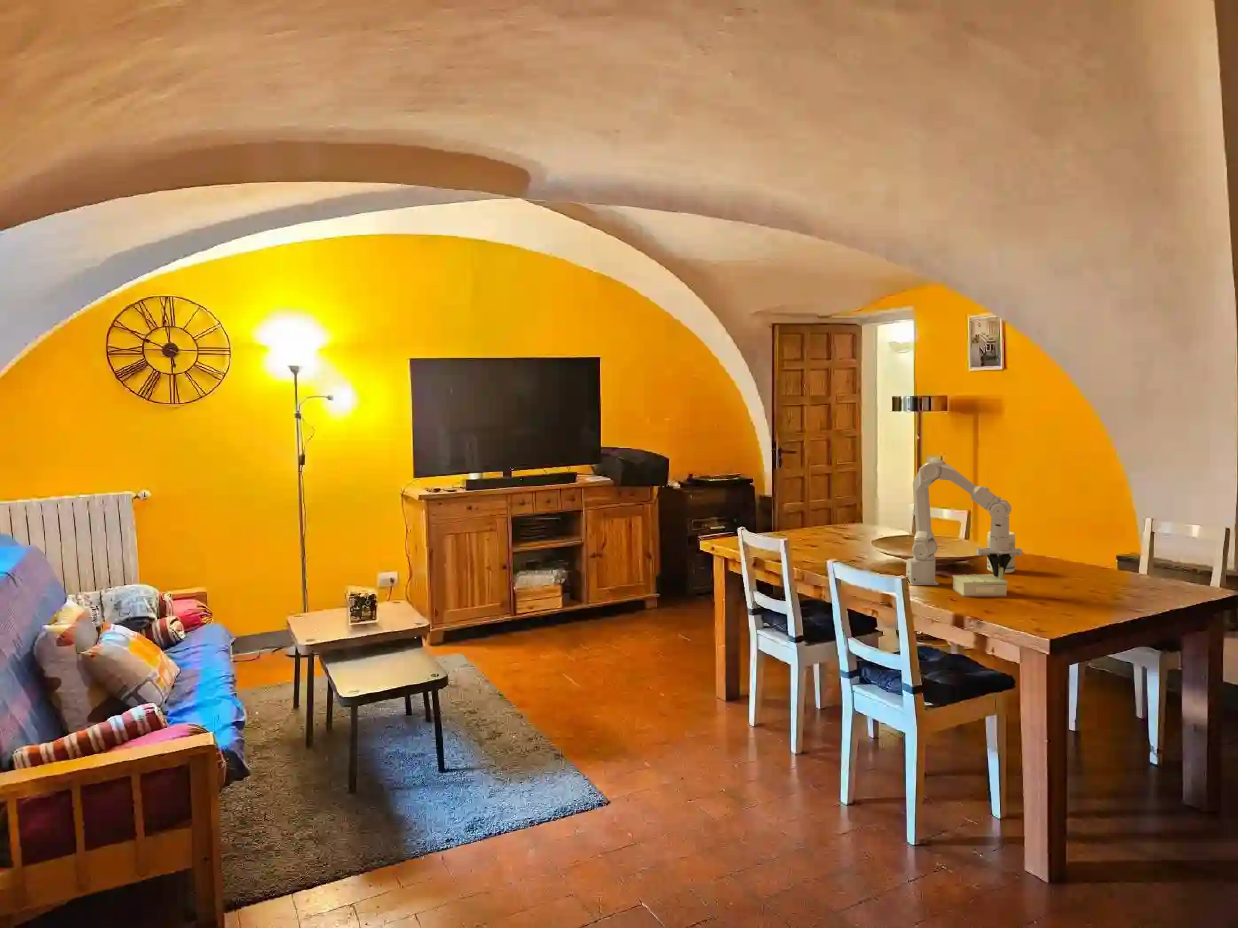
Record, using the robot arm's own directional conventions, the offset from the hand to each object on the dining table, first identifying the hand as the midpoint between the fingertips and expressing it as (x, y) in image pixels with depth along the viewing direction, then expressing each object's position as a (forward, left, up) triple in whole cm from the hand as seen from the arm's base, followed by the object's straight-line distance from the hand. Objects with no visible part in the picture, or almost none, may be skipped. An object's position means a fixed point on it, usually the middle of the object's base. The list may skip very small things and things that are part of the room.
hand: (998, 575), depth 279 cm
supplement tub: (+14, +32, -6) cm, 35 cm away
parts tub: (-6, 0, -6) cm, 8 cm away
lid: (-6, 0, -2) cm, 6 cm away
